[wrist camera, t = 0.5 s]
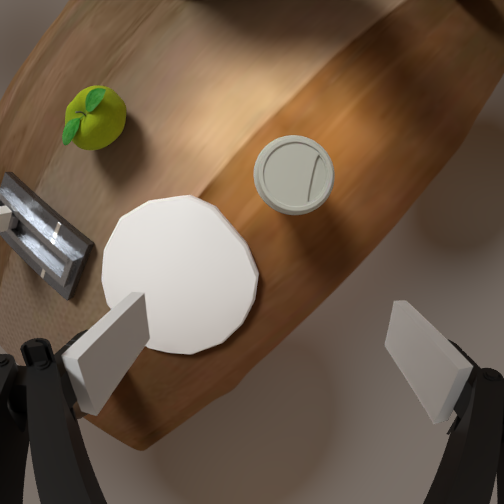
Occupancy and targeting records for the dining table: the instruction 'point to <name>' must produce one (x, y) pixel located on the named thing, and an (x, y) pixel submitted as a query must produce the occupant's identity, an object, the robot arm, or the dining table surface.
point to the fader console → (44, 237)
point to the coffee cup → (294, 175)
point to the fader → (7, 219)
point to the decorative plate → (182, 272)
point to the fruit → (94, 118)
